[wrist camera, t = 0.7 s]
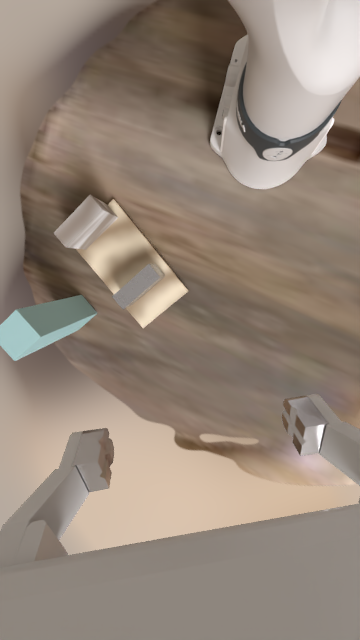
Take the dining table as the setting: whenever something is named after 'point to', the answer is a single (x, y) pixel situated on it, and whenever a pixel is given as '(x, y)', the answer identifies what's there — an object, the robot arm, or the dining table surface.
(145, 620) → the robot arm
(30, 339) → the teal block
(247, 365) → the dining table surface
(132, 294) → the block
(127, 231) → the vise base
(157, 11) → the dining table surface
